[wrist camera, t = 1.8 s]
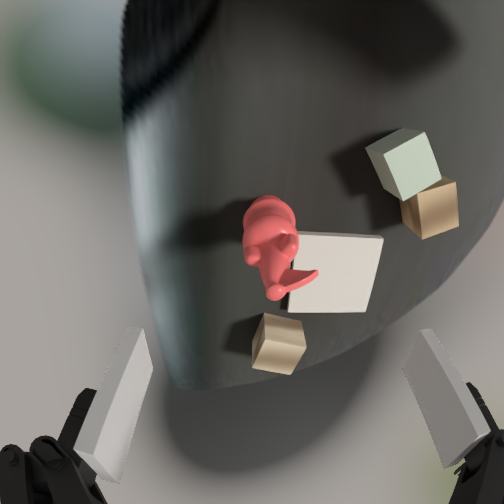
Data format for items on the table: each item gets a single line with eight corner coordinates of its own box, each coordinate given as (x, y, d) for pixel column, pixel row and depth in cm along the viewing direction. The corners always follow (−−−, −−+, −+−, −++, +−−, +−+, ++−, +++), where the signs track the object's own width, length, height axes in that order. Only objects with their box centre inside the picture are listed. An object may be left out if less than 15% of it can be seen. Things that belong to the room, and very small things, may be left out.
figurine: (285, 181, 30) (312, 242, 16) (298, 226, 32) (329, 313, 18) (237, 196, 30) (223, 268, 17) (252, 240, 33) (252, 333, 19)
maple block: (264, 312, 37) (265, 339, 32) (301, 320, 38) (306, 347, 33) (252, 340, 39) (252, 367, 34) (287, 347, 40) (290, 374, 35)
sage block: (364, 147, 28) (383, 154, 24) (401, 127, 27) (424, 132, 22) (383, 188, 30) (403, 201, 25) (418, 168, 29) (441, 178, 24)
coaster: (295, 231, 32) (296, 234, 31) (380, 235, 32) (383, 238, 31) (287, 307, 36) (287, 312, 36) (363, 307, 37) (365, 311, 36)
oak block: (395, 181, 30) (417, 193, 25) (431, 171, 29) (455, 181, 24) (402, 222, 32) (422, 239, 27) (436, 210, 31) (458, 226, 26)
